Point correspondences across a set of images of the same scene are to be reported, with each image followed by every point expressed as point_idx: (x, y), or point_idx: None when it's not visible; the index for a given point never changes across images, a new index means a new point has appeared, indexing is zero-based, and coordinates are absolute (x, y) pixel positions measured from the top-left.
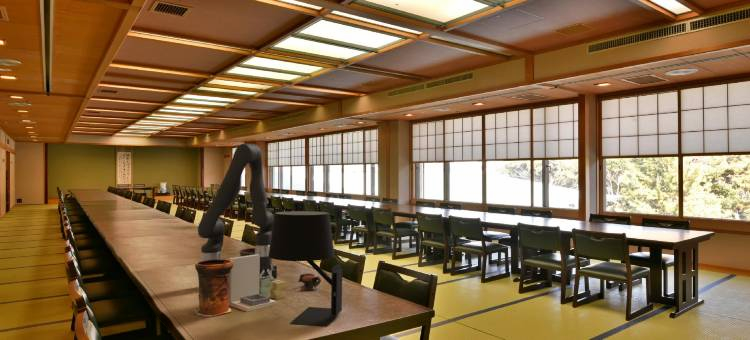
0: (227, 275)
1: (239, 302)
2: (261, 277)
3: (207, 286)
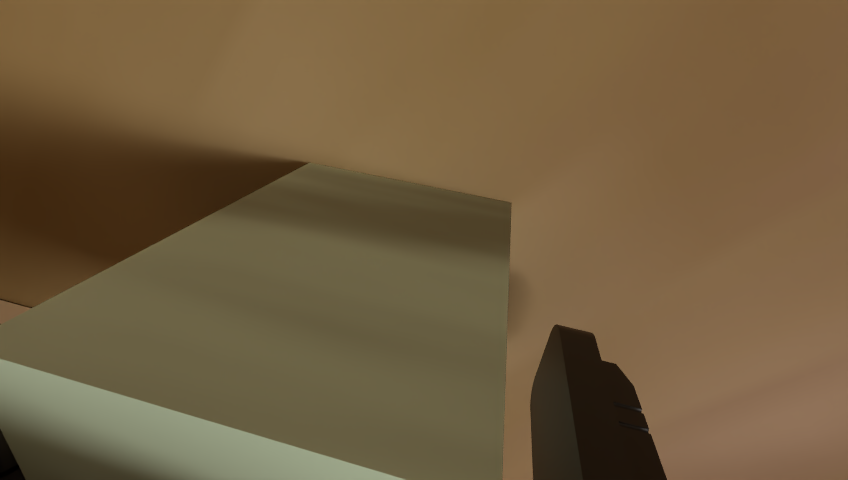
0: None
1: None
2: (303, 462)
3: None
